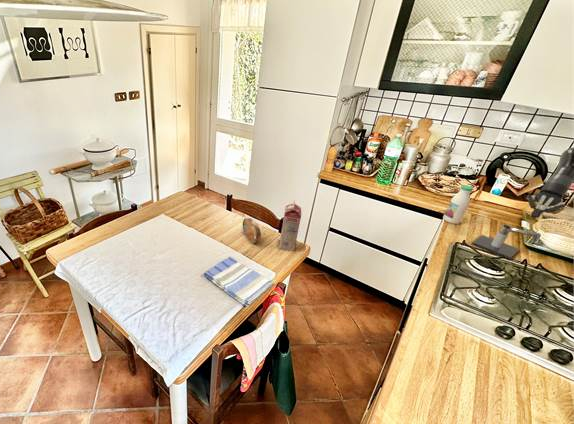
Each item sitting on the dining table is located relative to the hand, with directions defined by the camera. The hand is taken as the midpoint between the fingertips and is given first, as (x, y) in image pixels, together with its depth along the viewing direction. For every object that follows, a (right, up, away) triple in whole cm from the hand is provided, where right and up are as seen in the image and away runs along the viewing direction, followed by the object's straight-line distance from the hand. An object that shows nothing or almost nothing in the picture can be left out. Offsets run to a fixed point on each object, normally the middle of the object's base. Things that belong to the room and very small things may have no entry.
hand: (534, 217), depth 139 cm
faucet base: (-14, -14, +4) cm, 21 cm away
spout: (-10, -9, -2) cm, 13 cm away
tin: (-128, -10, +9) cm, 128 cm away
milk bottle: (-17, -2, +26) cm, 31 cm away
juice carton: (-112, -13, +3) cm, 113 cm away
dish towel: (-137, -25, -19) cm, 141 cm away
